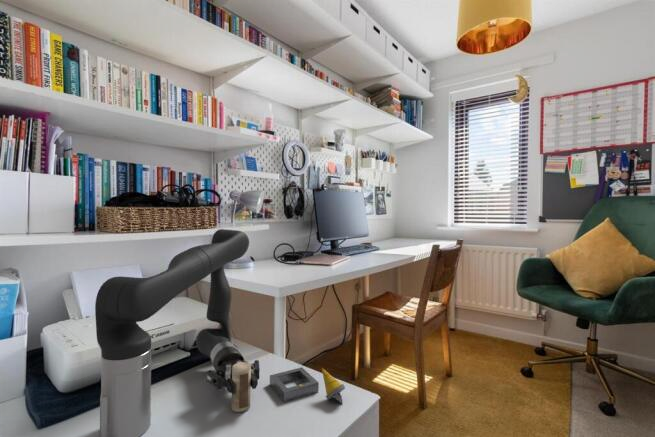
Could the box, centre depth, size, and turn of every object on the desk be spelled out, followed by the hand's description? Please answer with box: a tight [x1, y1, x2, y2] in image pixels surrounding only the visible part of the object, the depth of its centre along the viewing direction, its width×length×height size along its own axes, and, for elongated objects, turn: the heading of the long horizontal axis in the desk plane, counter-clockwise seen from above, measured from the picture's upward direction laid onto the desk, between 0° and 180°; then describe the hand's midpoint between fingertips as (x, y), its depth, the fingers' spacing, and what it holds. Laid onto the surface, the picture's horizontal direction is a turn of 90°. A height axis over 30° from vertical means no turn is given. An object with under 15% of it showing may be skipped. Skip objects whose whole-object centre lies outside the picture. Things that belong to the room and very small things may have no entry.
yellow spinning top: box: [321, 367, 346, 405], centre depth 85 cm, size 5×5×10 cm
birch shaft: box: [231, 361, 252, 413], centre depth 80 cm, size 4×4×10 cm
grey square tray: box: [269, 367, 320, 403], centre depth 90 cm, size 10×10×3 cm
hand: (244, 387), depth 78 cm, fingers closed on birch shaft, 4 cm apart
